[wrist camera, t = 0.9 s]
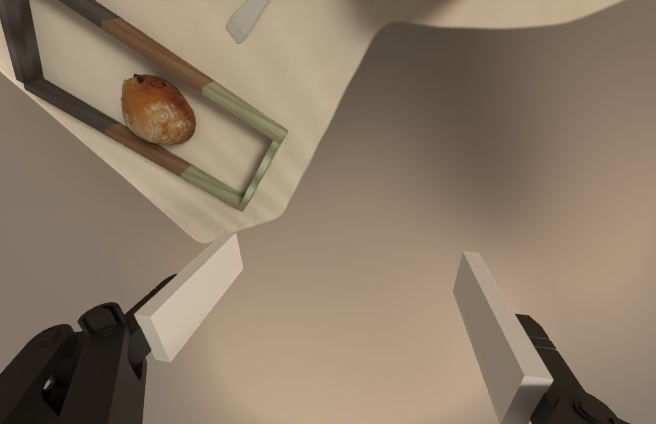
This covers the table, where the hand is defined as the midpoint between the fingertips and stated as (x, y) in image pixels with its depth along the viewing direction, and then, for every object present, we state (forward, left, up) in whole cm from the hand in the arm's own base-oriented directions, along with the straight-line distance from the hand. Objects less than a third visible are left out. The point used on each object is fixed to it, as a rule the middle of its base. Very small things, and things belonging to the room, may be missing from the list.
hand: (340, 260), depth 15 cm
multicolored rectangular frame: (+19, -27, -26) cm, 42 cm away
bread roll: (+19, -26, -26) cm, 41 cm away
